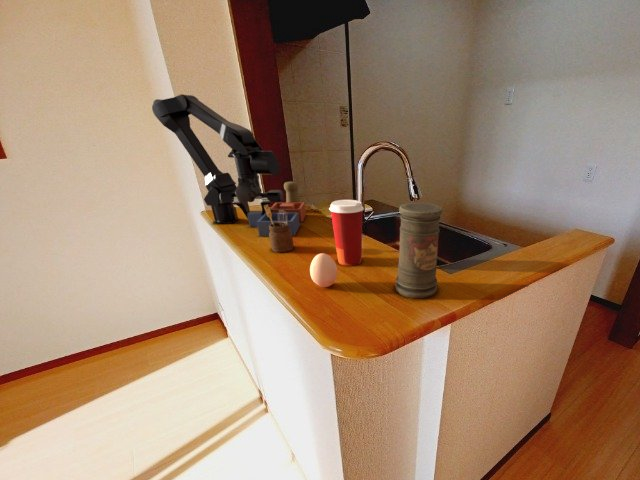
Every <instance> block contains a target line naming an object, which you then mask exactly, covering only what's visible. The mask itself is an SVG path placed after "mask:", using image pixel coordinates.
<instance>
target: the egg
mask: <svg viewBox="0 0 640 480" xmlns="http://www.w3.org/2000/svg"><path fill="white" fill-rule="evenodd" d="M311 260H312V261H311V263H310V266H309V275H310V278H311V280H312V281H313V283H314V284H315V285H317V286H318V287H321V288H328V287H331V286H332V285H333V284H334V283H335V282H336V280H337V278H338V267H337V264H336V262H335V260H334V259H333V257H332V256H330V255H329V254H327V253H324V252H323V253H318V254H316V255H315V256H314V257H313V259H311Z"/></svg>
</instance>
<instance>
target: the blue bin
mask: <svg viewBox="0 0 640 480" xmlns="http://www.w3.org/2000/svg"><path fill="white" fill-rule="evenodd" d="M271 214H272V217H271V218H272V221H273V223H277V222H278V221H280V222H285V223H286V222H287V223H288V224H289V227H290V228H289V230H290V231H291V233H292V237H295V236H296V234H297V232H298V231H299V228H300V227H301V222H299V216H298V213H286V214H285V213H281V214H280V213H279V214H278V213H271ZM270 224H272V222H271V219H270V218H269V217H268V216H267V214H266V213H265V214H264V215H263V216H262V217H261V218H260V219H259V220H258V221H257V226H258V227H257V230H258V235H259V236H258V237H269V233H270V230H269V225H270Z"/></svg>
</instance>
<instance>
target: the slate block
mask: <svg viewBox="0 0 640 480" xmlns="http://www.w3.org/2000/svg"><path fill="white" fill-rule="evenodd" d="M247 215H248V219H247V220H248V224H249V227H250V228H258V226H257V221H258V220H259V219H260V218H261V217H262V216H263V214H262V210H250V212H249V213H248V214H247Z"/></svg>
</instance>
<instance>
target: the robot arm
mask: <svg viewBox="0 0 640 480" xmlns="http://www.w3.org/2000/svg"><path fill="white" fill-rule="evenodd" d="M151 111H152V113H153V115H154V117H156V119H157V120H158V121H159V122H160V124H161V125H162V126H163V127H165V128H166V129H168V130H169V131H171V132H172V133H173V134H175V136H176V137H177V139H178V141H179V142H180V143H181V144H182V146H183V147H184V149H185V150H186V152H187V153H188V155H189V156H190V157H191V159H192V161H193V162H194V163H195V165H196V167H197V168H198V169H199V170H200V172H201V174H202V175H203V177H204V183H205V184H204V185H205V188H206V190H207V193H206V194H205V196H204V198H203V200H204V203H205V204H206V206H208V207H211V211H212V214H213V219H214V220H213V224H234V223H235V222H237V220H239V219H240V218H239V216H238V212H237V207H236V206H238V207H239V208H240V210H241V211H242V212H243V214H244V215H245V218H246V219H247V220H248V215H247V214H248V213H249V212H250V211H251V210H250V204H249V203H253V202H254V201H255V200H262V201H261V202H260V206H261V211H262V214H263V215H264V214H265V213H266V211H265V208H264V205H266V206H267V204H268V206H269V207H270V205H271V204H272V203H281V202H282V201H283V200H284V199H285V195H284V192H283V190H281V189H270V190H269V191H267V192H262V187H261V185H260V176H259V175H264V176H265V175H268V176H277V175H278V173H279V172H280V162H279V160H278V158H277V156H275V155H274V151H272V150H264V149H263V147H262V146H261V145H260V144H259V142H258V141H257V140H256V138H255V137H254V133H253V132H252V130H250V129H248V128H247V127H245V126H242V125H241V124H238V123H234V122H231V121H229V120H227V119H226V118H225V117H223V116H222V115H220V114H219V113H217V112H216V111H215V110H213V109H212V108H210V107H209V106H207V105H206V104H205V103H203V102H202V101H200V100H199V98H197V97H196V96H194V95H192V94H179V95H176V96H172V97H169V98H163V99H161V98H159V99H155V100H153V102H152V105H151ZM190 115H191V116H192V117H195V118H196V119H198V121H200V122H202V123H203V124H204V125H206V126H208V127H209V128H210V129H212V130H213V131H214V132H216V133H217V134H218V135H219V136H220V138H221V140H222V141H223V142H224V143H225V144H226V145H227V146H228V147H229V148H230V149H231V150H230V152H229V153H228V154H227V158H232V159H234V162H235V167H236V173H237V182H236V181H235V180H234V179H233V178H232V175H231V174H230V173H229V172H222V171H221V170H220V169H219V167H217V165H216V164H215V162H214V161H213V159H212V157H211V156H210V154H209V153H208V152H207V150H206V148H205V147H204V146H203V143H202V142H201V141H200V139H199V137H197V134H195V132H194V131H193V129H192V128H191V121H190V120H191V119H190ZM237 183H238V184H237ZM236 184H237V185H236ZM266 206H265V207H266ZM267 208H268V207H267ZM266 210H267V209H266Z"/></svg>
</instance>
